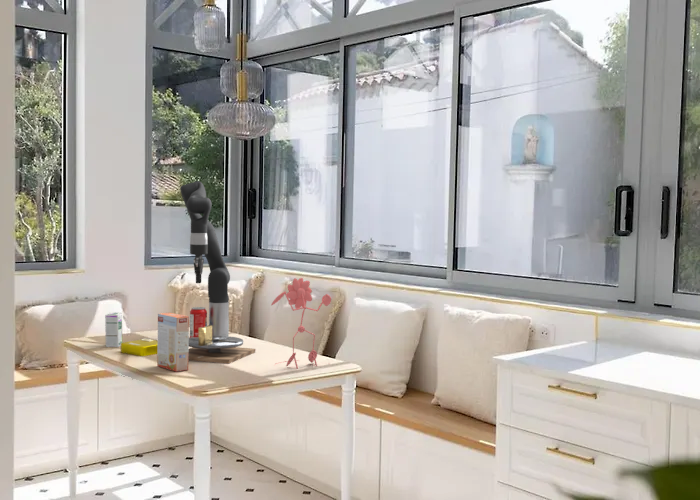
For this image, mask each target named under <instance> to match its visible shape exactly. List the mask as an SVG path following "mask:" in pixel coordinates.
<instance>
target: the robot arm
mask: <svg viewBox="0 0 700 500" xmlns="http://www.w3.org/2000/svg"><path fill="white" fill-rule="evenodd" d="M180 193H181V197H182V200H183V203H184V204H185V207H186V210H187V212H188V215H189V218H190V236H189V254H190V255H192V256H193V255H194V256H195V257H194V258H193V270H194V275H195V283H196V284H201V283H202V274H203V271H204V270H203V269H204V263H205V260H204V259H206V261H207V264H208V267H209V270H210V271H209V274H208V277H207V296H208V326H209V325H212V336H224V335H228V336H229V337H230V334H229V333H230V332H229V331H230V330H229V328H230V327H229V323H230V322H229V321H230V317H229V310H230V309H229V307H230V306H229V305H230V297H229V294H228V293H229V292H228V290H229V289H228V288H229V287H228V284H229V283H230V281H231V275H230V272H229V268H227V267H228V266H227V265H226V263H225V261H224V258H223V256H222V252H221V248H220V244H219V243H220V242H219V241H218V237H217V233H216V230H215V227H214V225H213V224H212V223H211V222H210V221H209V216H210V213H211V209H212V207H213V206H212V205H213V203H212V200H211V199H210V198H209V197H207V191H206V188H205V185H204V183H202V182H201V181H193V182H190V183H187V184H183V185H181V186H180ZM203 256H205V258H203Z"/></svg>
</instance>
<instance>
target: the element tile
mask: <svg viewBox="0 0 700 500" xmlns="http://www.w3.org/2000/svg"><path fill="white" fill-rule="evenodd" d="M157 351H158V339H157V340H156V339H152V338H151V339H150V338H142V339H141V338H140V339H136V340H135V339H134V340H130V341H124V342H123V341H122V343H121V346H120V353H122V354H126V355H127V354H128V355H133V356H137V357H147V356H152V355H157Z"/></svg>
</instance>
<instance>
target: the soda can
mask: <svg viewBox="0 0 700 500" xmlns="http://www.w3.org/2000/svg"><path fill="white" fill-rule="evenodd" d="M205 326H208V311H207V309H206V307H203V306H195V307H194V306H192V307H191V309H190V311H189V339H190V338H191V337H199V328H201V327H205Z"/></svg>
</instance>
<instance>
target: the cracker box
mask: <svg viewBox="0 0 700 500" xmlns="http://www.w3.org/2000/svg"><path fill="white" fill-rule="evenodd" d="M189 339H190V315H189V316H187V315H184V314H178V313H173V312H161V313H157V340H158V351H157V354H156V355H157V357H156V359H157V364H156V365H157V367H159V368H163V369H167V370H170V371H172V372H176V373H177V372H184V371H188V370H189V360H188V353H189V349H190V348H189Z"/></svg>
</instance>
